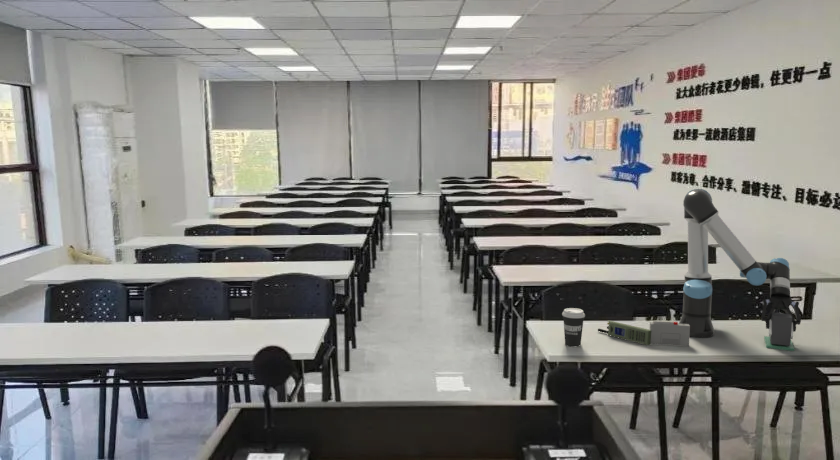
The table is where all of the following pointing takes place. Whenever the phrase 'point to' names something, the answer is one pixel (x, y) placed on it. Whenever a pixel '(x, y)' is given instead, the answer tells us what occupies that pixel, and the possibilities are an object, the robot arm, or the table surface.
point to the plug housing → (781, 328)
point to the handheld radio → (628, 332)
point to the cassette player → (669, 333)
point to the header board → (775, 346)
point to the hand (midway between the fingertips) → (781, 336)
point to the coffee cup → (573, 326)
